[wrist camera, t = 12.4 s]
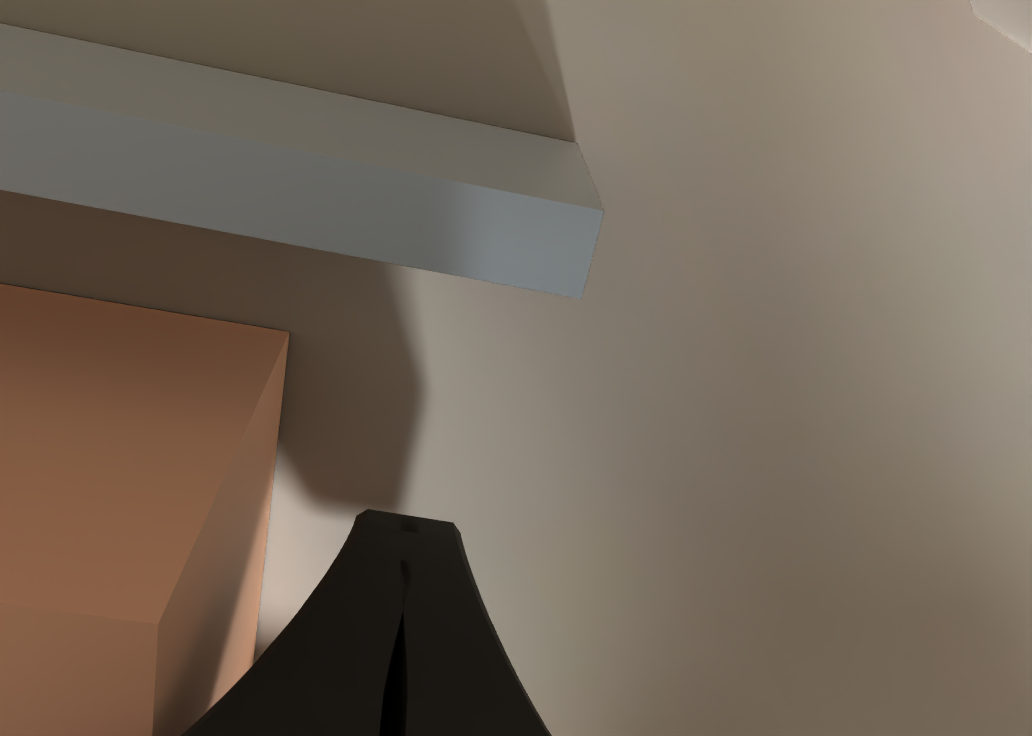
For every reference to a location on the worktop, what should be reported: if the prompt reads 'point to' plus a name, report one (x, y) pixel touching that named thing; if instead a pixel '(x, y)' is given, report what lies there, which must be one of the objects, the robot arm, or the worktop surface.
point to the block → (129, 511)
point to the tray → (292, 164)
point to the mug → (1007, 18)
